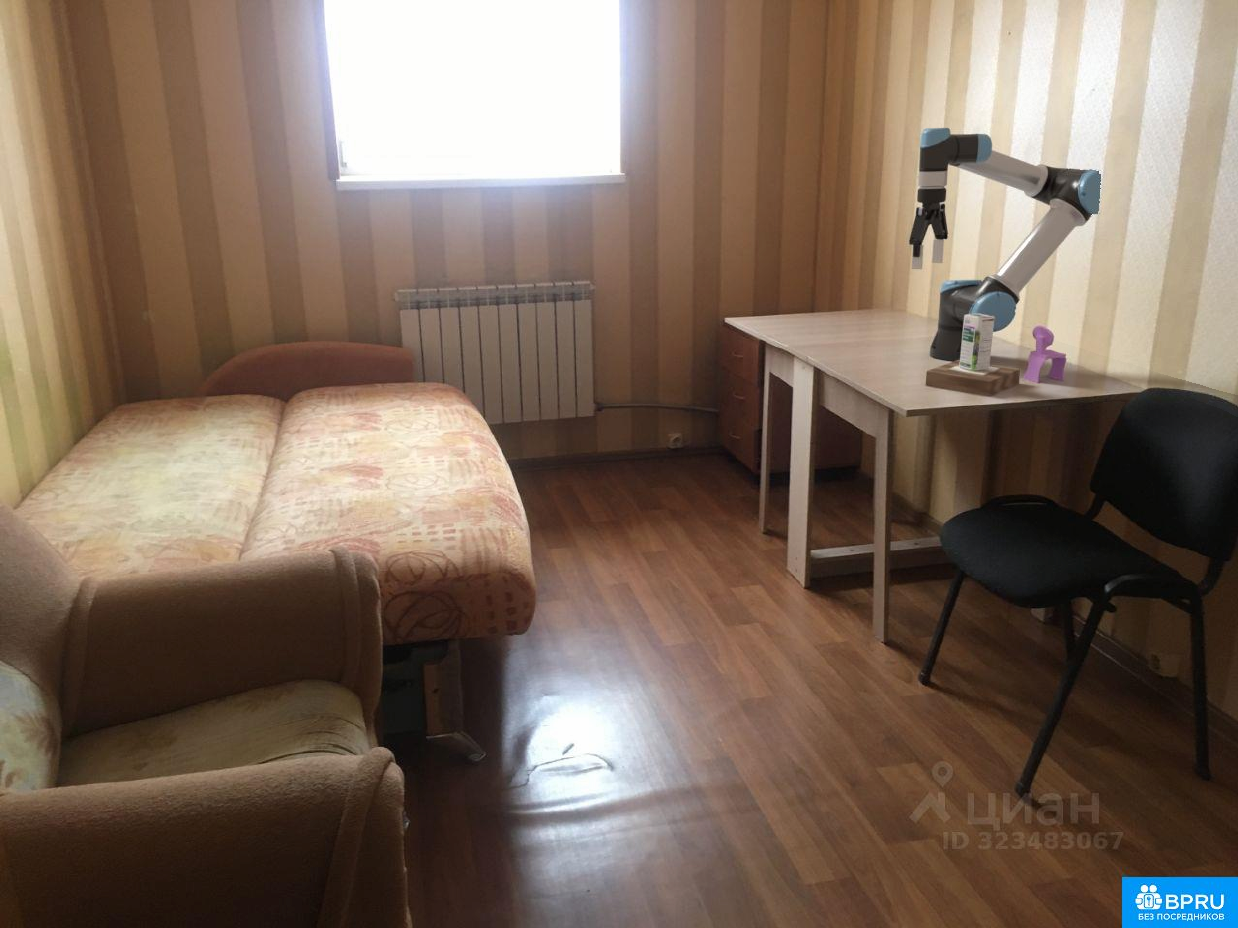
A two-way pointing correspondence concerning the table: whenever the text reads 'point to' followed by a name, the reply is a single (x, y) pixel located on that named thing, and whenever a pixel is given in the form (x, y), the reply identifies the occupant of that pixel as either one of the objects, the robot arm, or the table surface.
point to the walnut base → (973, 378)
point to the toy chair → (1044, 356)
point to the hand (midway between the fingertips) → (927, 266)
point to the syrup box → (976, 341)
